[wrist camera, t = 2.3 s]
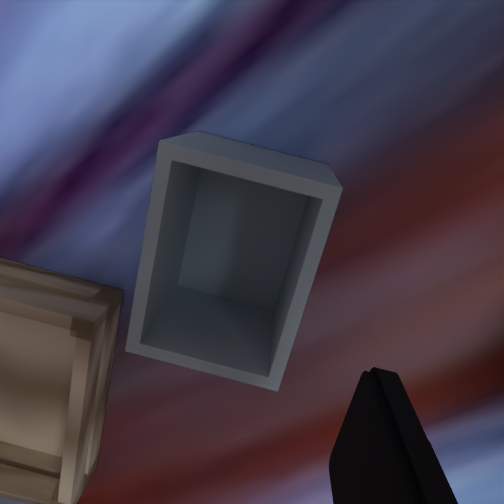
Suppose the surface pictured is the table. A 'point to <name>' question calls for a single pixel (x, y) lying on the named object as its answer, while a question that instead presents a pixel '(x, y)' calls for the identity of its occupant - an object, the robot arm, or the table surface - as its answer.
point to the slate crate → (229, 256)
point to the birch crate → (53, 380)
